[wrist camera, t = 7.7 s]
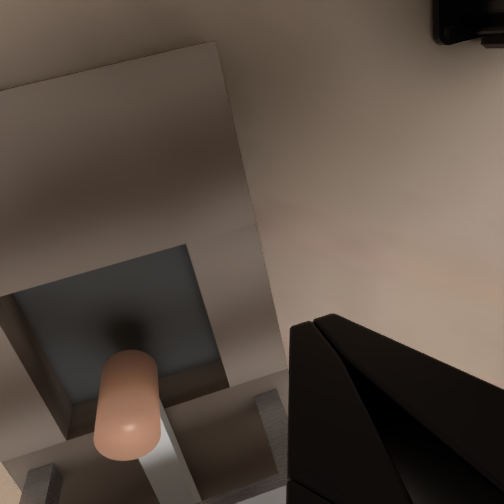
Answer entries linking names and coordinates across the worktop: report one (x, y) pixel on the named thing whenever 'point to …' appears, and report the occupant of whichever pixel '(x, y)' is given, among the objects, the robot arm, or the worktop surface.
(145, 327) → the deck
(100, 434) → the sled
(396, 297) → the worktop surface
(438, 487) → the robot arm
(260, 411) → the tunnel
